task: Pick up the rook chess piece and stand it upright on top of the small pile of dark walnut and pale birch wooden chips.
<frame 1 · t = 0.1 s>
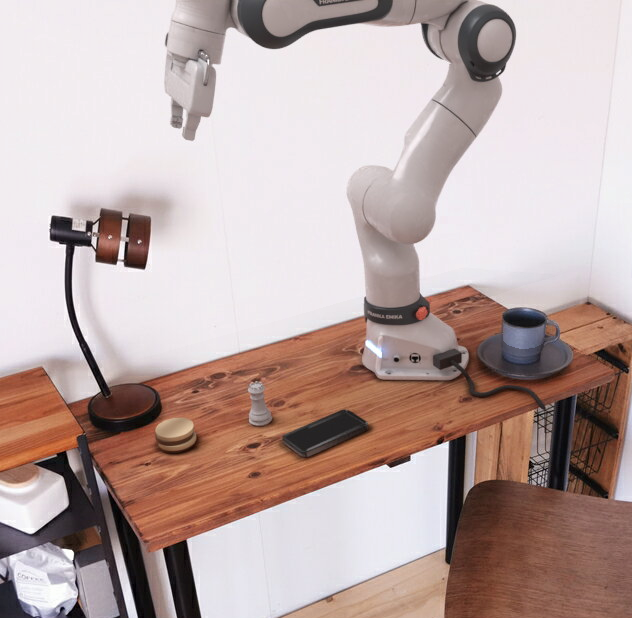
hand: (181, 133, 153), 52 cm above the table, tool tilted 20°, fingers open, 8 cm apart
chip pile: (177, 443, 169), on the table
phone: (325, 435, 168), on the table
rook chess piece: (260, 422, 174), on the table
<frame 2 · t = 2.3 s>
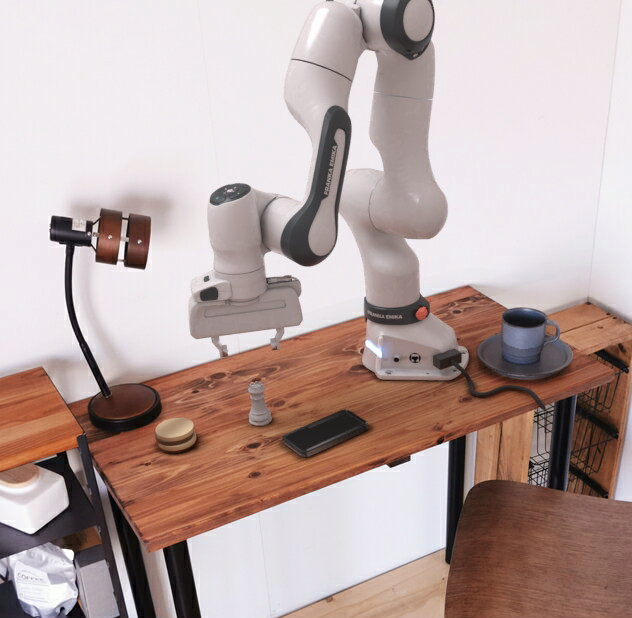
hand: (249, 352, 166), 15 cm above the table, tool pointing down, fingers open, 8 cm apart
nothing on the table moved.
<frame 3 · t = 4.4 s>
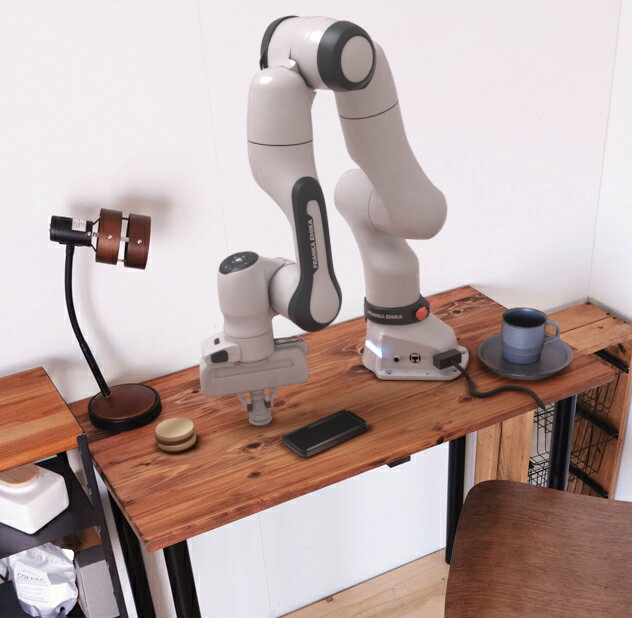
hand: (258, 408, 172), 3 cm above the table, tool pointing down, fingers closed on rook chess piece, 3 cm apart
rook chess piece: (260, 422, 174), on the table, touching gripper
everything else where it was.
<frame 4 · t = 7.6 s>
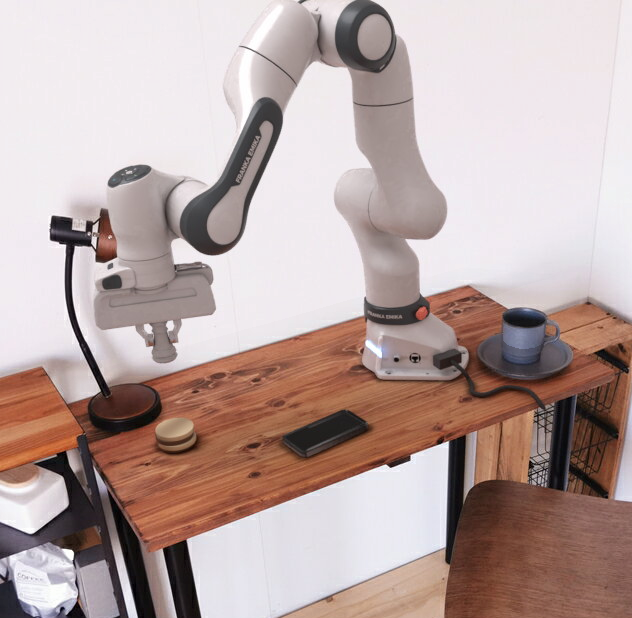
hand: (162, 343, 158), 20 cm above the table, tool pointing down, fingers closed on rook chess piece, 3 cm apart
rook chess piece: (165, 359, 159), point 17 cm above the table, touching gripper
everything else where it was.
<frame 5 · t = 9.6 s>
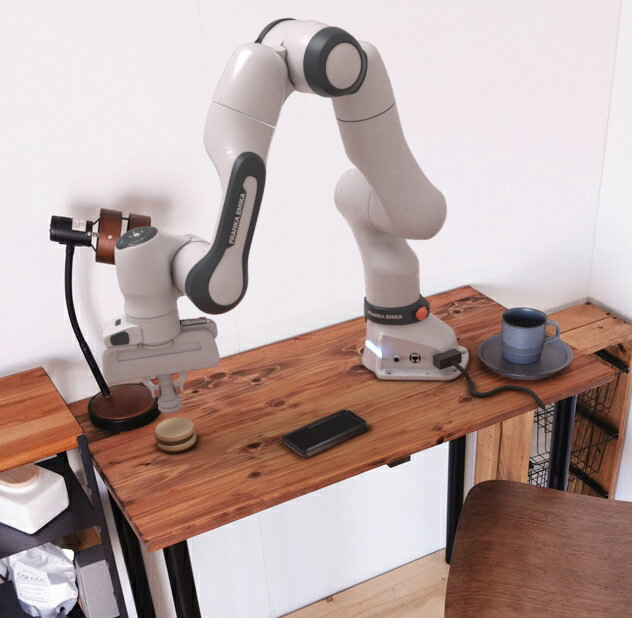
hand: (168, 394, 163), 11 cm above the table, tool pointing down, fingers closed on rook chess piece, 3 cm apart
rook chess piece: (171, 409, 164), point 8 cm above the table, touching gripper
everything else where it was.
when the fingers open (6 cm above the table, at t = 11.2 s): rook chess piece stays where it is, resting on chip pile.
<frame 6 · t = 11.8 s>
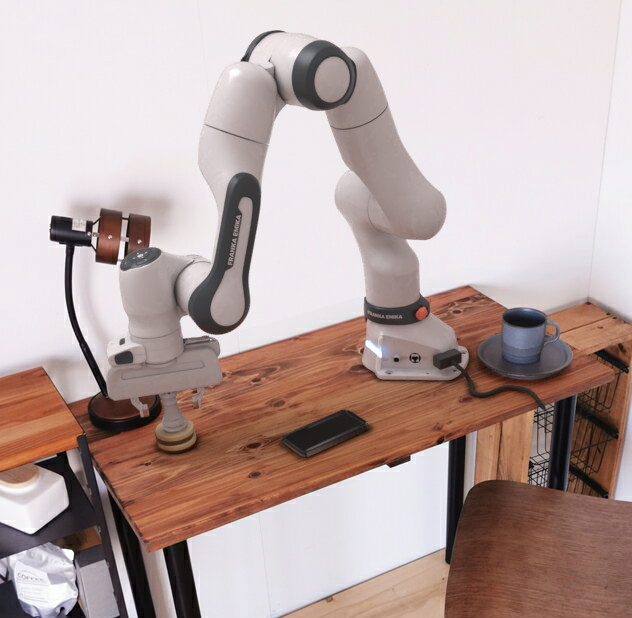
hand: (171, 411, 165), 7 cm above the table, tool pointing down, fingers open, 8 cm apart
rook chess piece: (175, 428, 167), point 3 cm above the table, touching chip pile
everything else where it was.
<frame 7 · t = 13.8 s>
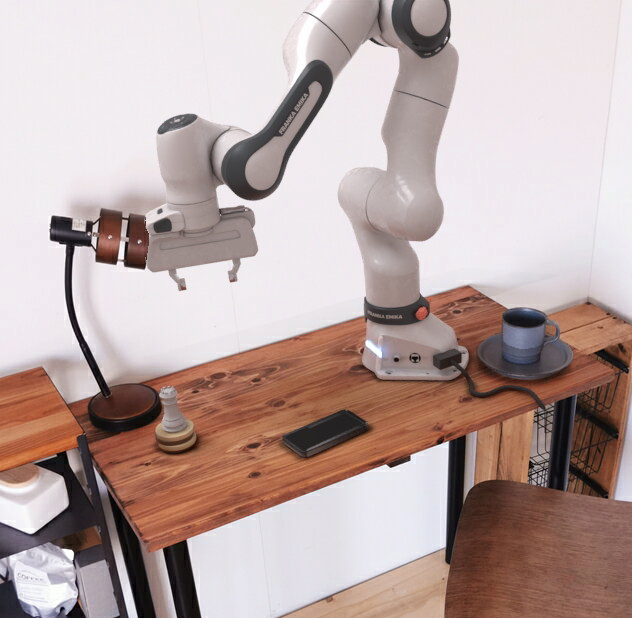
hand: (208, 285, 168), 25 cm above the table, tool pointing down, fingers open, 8 cm apart
nothing on the table moved.
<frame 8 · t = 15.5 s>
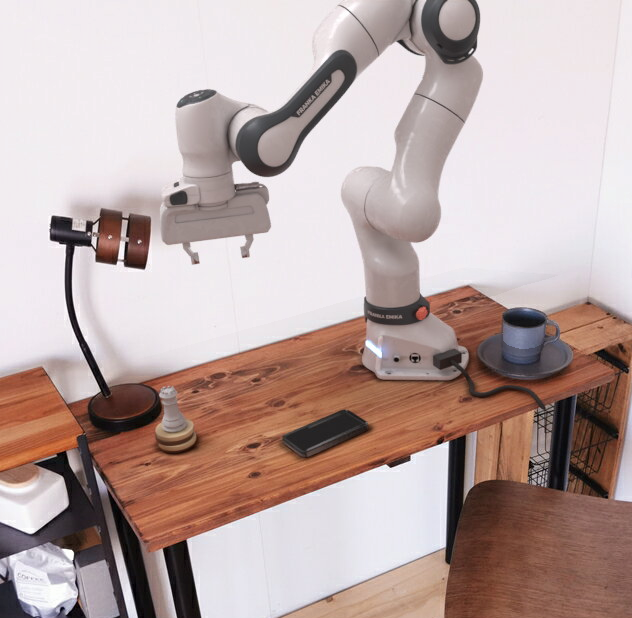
hand: (220, 260, 171), 27 cm above the table, tool pointing down, fingers open, 8 cm apart
nothing on the table moved.
at the end: rook chess piece 0.1 cm off-centre on the chip pile, point 3.4 cm above the chip pile's base; rook chess piece tilted 0°; the gripper is holding nothing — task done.
